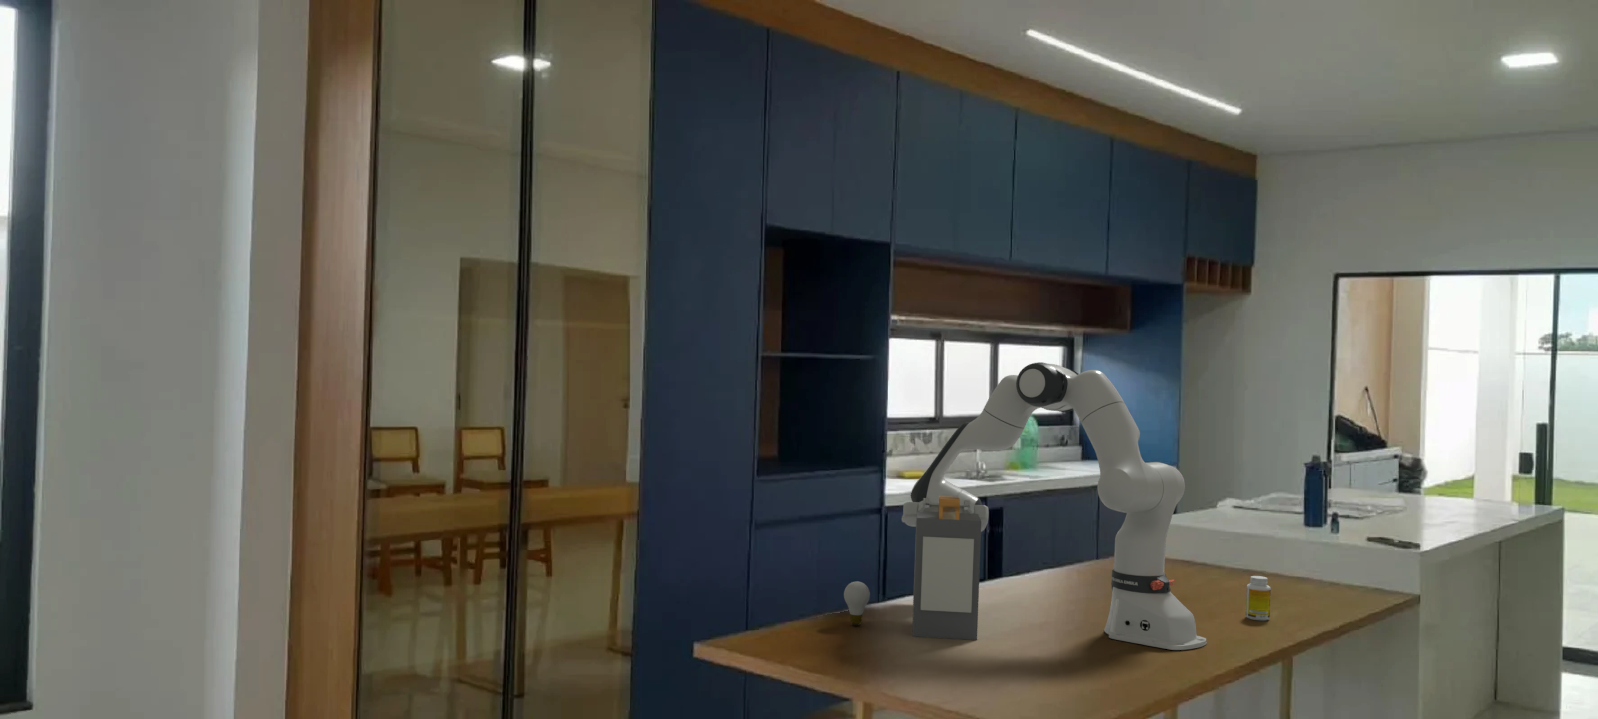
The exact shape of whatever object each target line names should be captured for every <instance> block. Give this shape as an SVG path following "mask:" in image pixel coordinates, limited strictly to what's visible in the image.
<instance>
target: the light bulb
mask: <svg viewBox="0 0 1598 719" xmlns="http://www.w3.org/2000/svg"><path fill="white" fill-rule="evenodd" d="M870 597H871V592H870V589H869V587H868V586H867V585H866V584H865V583H864V582H862V581H858V580H857V581H851V582H849V583H848V584H847V585H846V586H845V589H844V591H843V598H844V601H845V603H846V605H847V608H848V611H849V616H850V618H849V622H850V623H851V625H852V626H854V627H857V626H860V624H861V623H862V621H863V619H862V618H863V614H864V611H865V608H866V606H867V604H868V602H869V601H870V599H871V598H870Z"/></svg>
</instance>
